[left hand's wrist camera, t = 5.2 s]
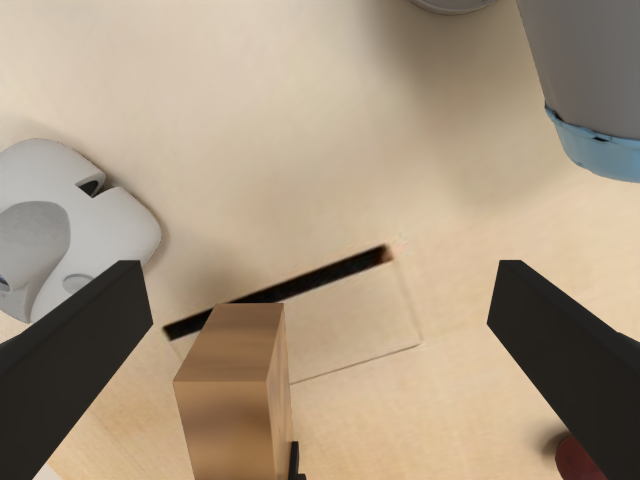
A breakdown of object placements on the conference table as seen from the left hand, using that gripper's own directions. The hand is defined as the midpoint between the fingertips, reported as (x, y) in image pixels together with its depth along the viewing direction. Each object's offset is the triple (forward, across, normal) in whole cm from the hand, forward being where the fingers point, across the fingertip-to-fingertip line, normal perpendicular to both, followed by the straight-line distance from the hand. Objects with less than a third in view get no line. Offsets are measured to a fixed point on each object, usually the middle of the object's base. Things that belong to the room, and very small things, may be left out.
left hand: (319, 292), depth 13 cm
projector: (+28, -29, -9) cm, 41 cm away
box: (+19, -7, -24) cm, 31 cm away
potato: (+27, +38, -41) cm, 62 cm away
